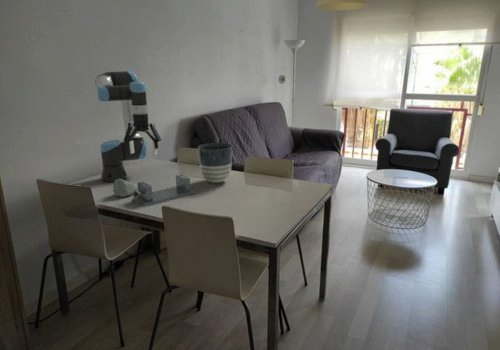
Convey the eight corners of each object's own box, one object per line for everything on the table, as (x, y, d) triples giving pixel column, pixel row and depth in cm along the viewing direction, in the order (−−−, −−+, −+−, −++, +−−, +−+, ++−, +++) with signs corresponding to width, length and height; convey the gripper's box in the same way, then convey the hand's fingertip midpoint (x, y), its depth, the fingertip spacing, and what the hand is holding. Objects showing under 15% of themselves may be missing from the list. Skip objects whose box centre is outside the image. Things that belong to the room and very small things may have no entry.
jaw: (129, 198, 189) (128, 184, 187) (144, 194, 194) (142, 180, 191) (138, 203, 181) (136, 188, 179) (152, 199, 186) (151, 185, 184)
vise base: (132, 199, 192) (131, 182, 190) (180, 187, 209) (179, 172, 207) (144, 206, 182) (142, 189, 179) (193, 193, 199) (192, 177, 196)
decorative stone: (117, 200, 191) (127, 184, 191) (106, 189, 196) (116, 173, 196) (134, 204, 203) (144, 189, 202) (123, 194, 208) (133, 179, 207)
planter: (193, 184, 215) (191, 148, 209) (209, 175, 232) (208, 142, 226) (224, 188, 208) (222, 150, 202) (238, 178, 225) (237, 144, 219)
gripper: (114, 113, 188) (119, 154, 194) (158, 115, 182) (161, 157, 188) (123, 111, 195) (127, 151, 201) (165, 113, 189) (168, 153, 195)
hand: (143, 154), depth 195 cm, fingers open, 13 cm apart
